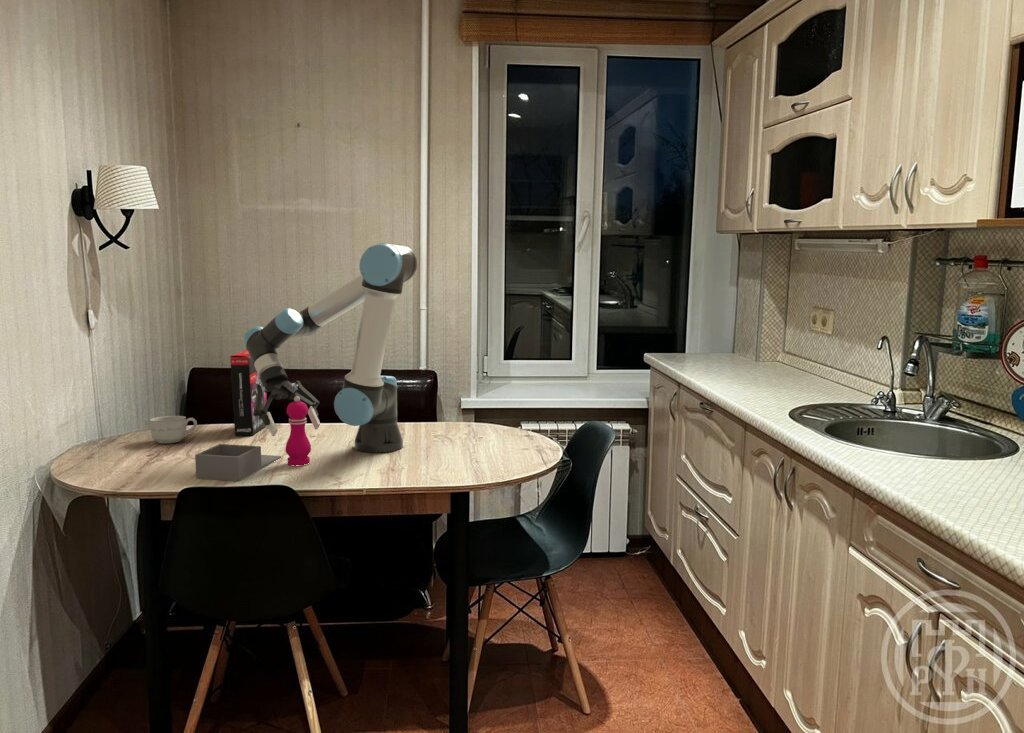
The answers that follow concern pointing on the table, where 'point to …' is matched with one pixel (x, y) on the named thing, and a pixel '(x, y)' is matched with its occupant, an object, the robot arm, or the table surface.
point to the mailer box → (231, 462)
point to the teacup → (170, 428)
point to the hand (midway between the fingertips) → (296, 430)
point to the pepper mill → (297, 434)
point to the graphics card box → (245, 394)
